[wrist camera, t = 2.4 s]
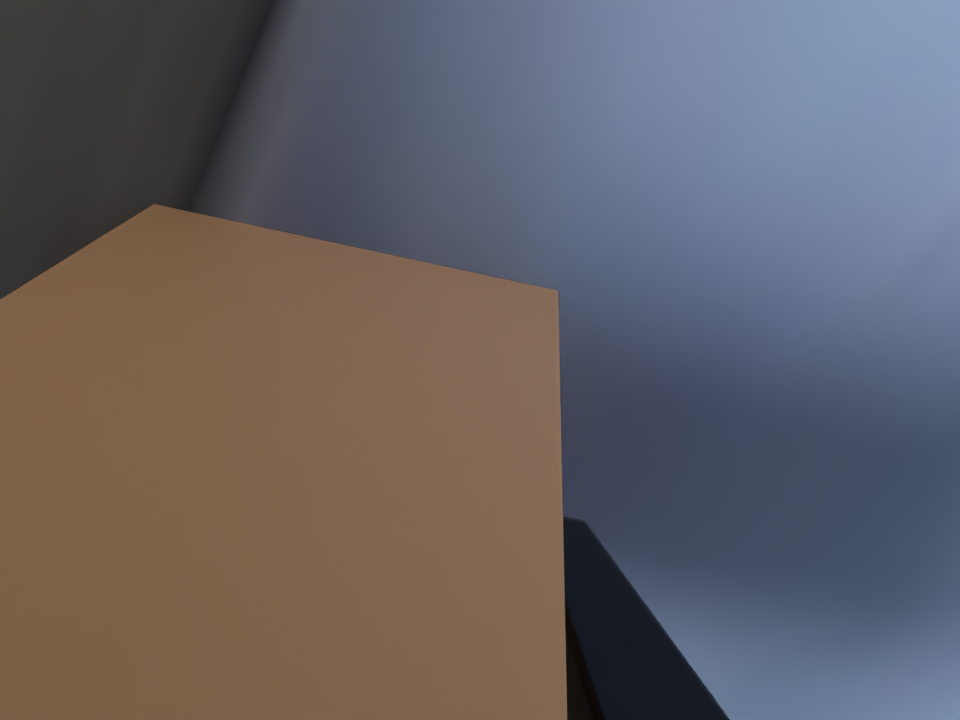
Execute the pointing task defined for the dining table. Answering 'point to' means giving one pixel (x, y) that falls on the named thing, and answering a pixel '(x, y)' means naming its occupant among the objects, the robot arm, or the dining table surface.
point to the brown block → (277, 484)
